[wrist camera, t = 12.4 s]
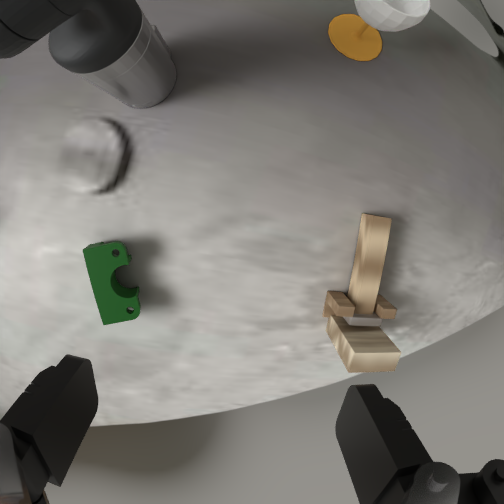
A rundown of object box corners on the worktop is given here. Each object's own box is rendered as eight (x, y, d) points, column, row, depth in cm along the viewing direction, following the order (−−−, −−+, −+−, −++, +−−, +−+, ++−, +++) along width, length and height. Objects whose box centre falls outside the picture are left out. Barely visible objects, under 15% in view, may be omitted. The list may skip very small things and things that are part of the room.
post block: (327, 290, 46) (353, 325, 34) (380, 295, 46) (416, 327, 35) (319, 330, 47) (340, 372, 36) (370, 332, 48) (401, 370, 36)
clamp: (142, 286, 49) (145, 325, 42) (109, 292, 48) (107, 333, 41) (124, 224, 42) (122, 259, 35) (87, 232, 41) (78, 269, 34)
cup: (317, 19, 36) (349, -38, 20) (365, 11, 36) (407, -38, 20) (344, 66, 38) (390, 22, 23) (391, 56, 38) (445, 18, 22)
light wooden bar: (355, 212, 43) (370, 215, 38) (385, 217, 44) (402, 221, 38) (338, 310, 46) (349, 325, 41) (366, 312, 46) (380, 326, 41)
